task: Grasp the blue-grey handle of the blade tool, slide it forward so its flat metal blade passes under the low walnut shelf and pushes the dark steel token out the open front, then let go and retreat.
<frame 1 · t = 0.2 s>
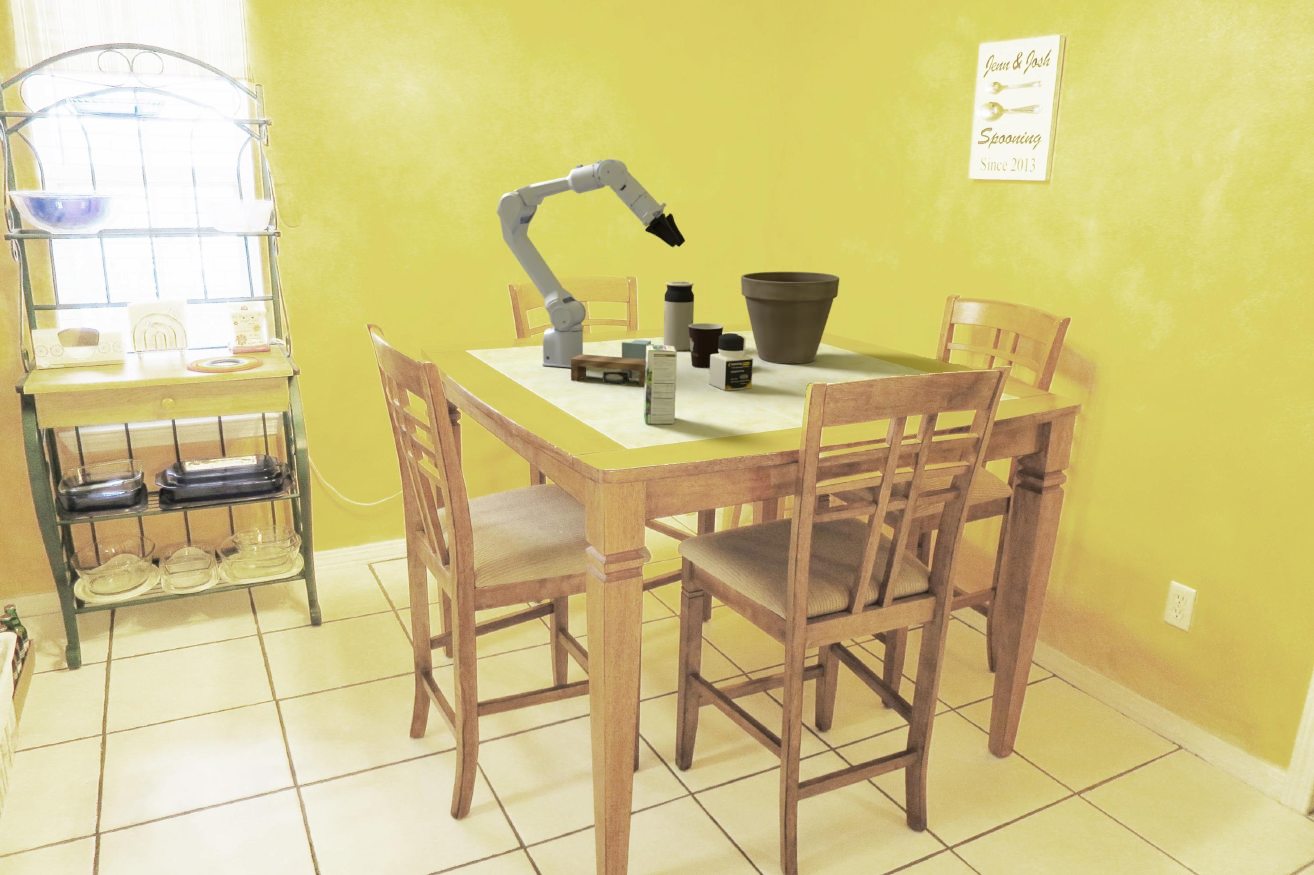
hand: (679, 244, 212), 31 cm above the table, fingers open, 7 cm apart
syrup box: (659, 421, 178), on the table
travel mug: (677, 349, 251), on the table
token: (616, 382, 211), on the table
plant pot: (785, 359, 240), on the table
coffee mug: (705, 365, 231), on the table
riser shelf: (612, 380, 211), on the table
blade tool: (640, 365, 228), on the table
medicine bottle: (730, 387, 208), on the table
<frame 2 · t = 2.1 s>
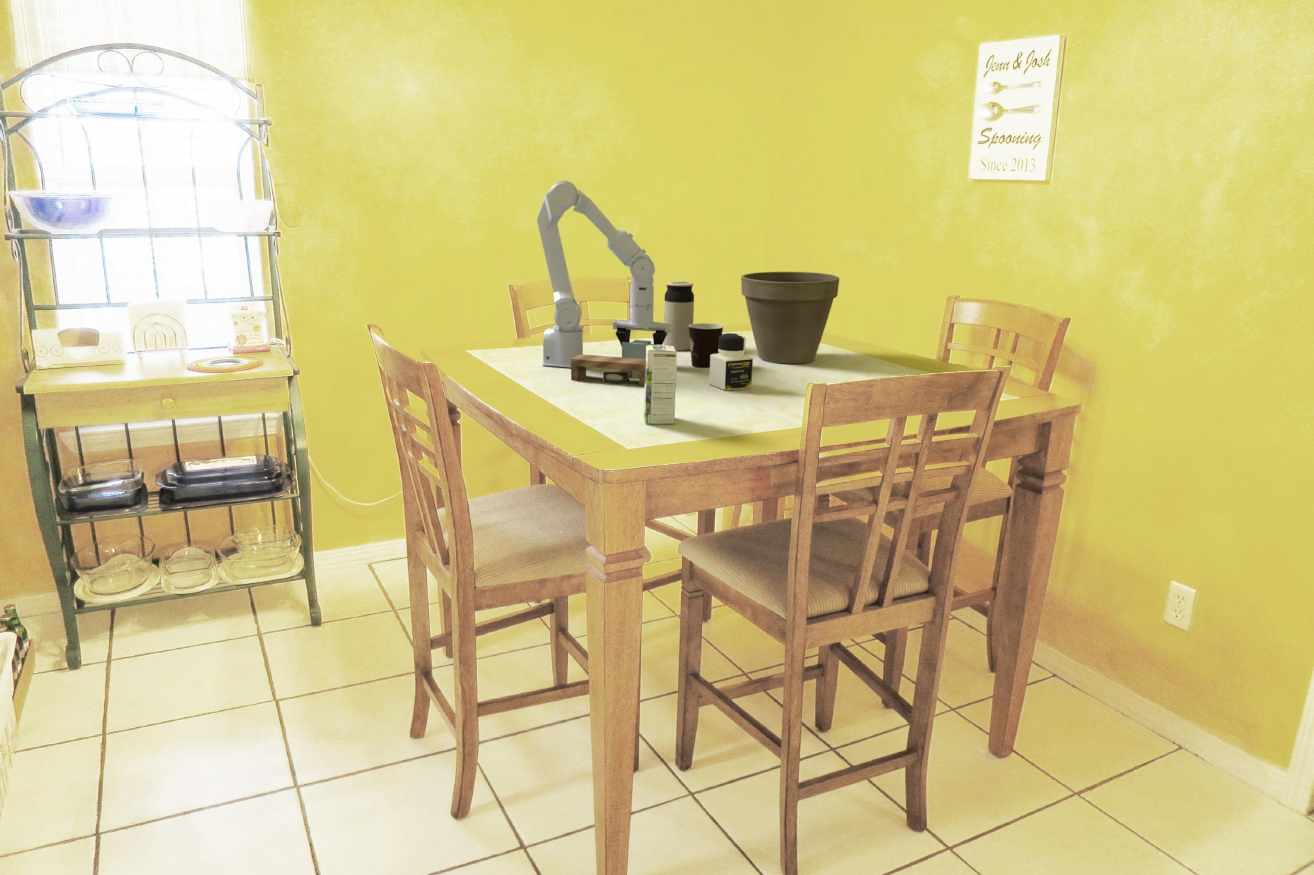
hand: (641, 359, 228), 2 cm above the table
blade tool: (640, 365, 228), on the table, touching gripper
everything else where it was.
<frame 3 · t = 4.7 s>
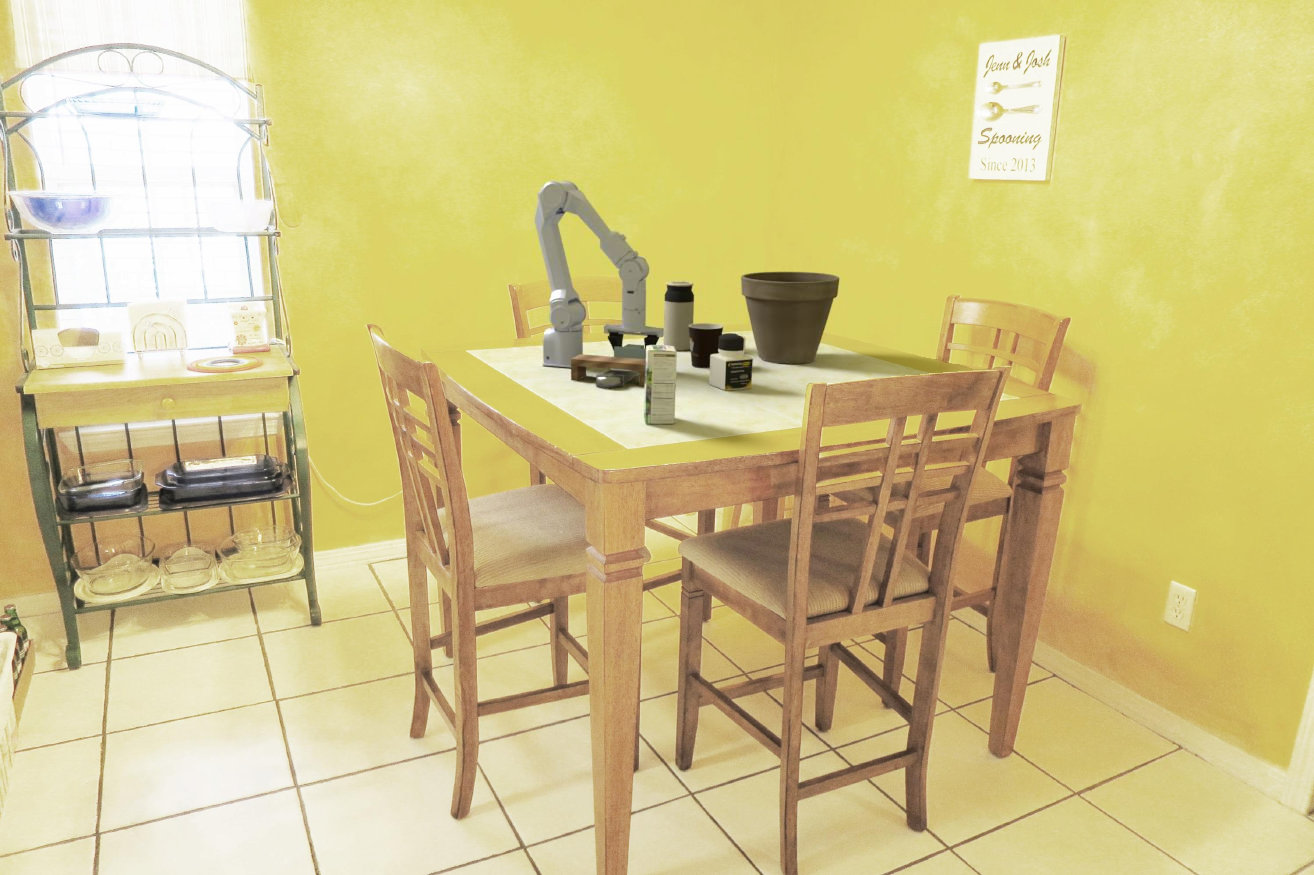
hand: (633, 364, 222), 1 cm above the table, fingers closed on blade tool, 7 cm apart
token: (609, 386, 206), on the table
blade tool: (633, 370, 223), on the table, touching gripper
everything else where it was.
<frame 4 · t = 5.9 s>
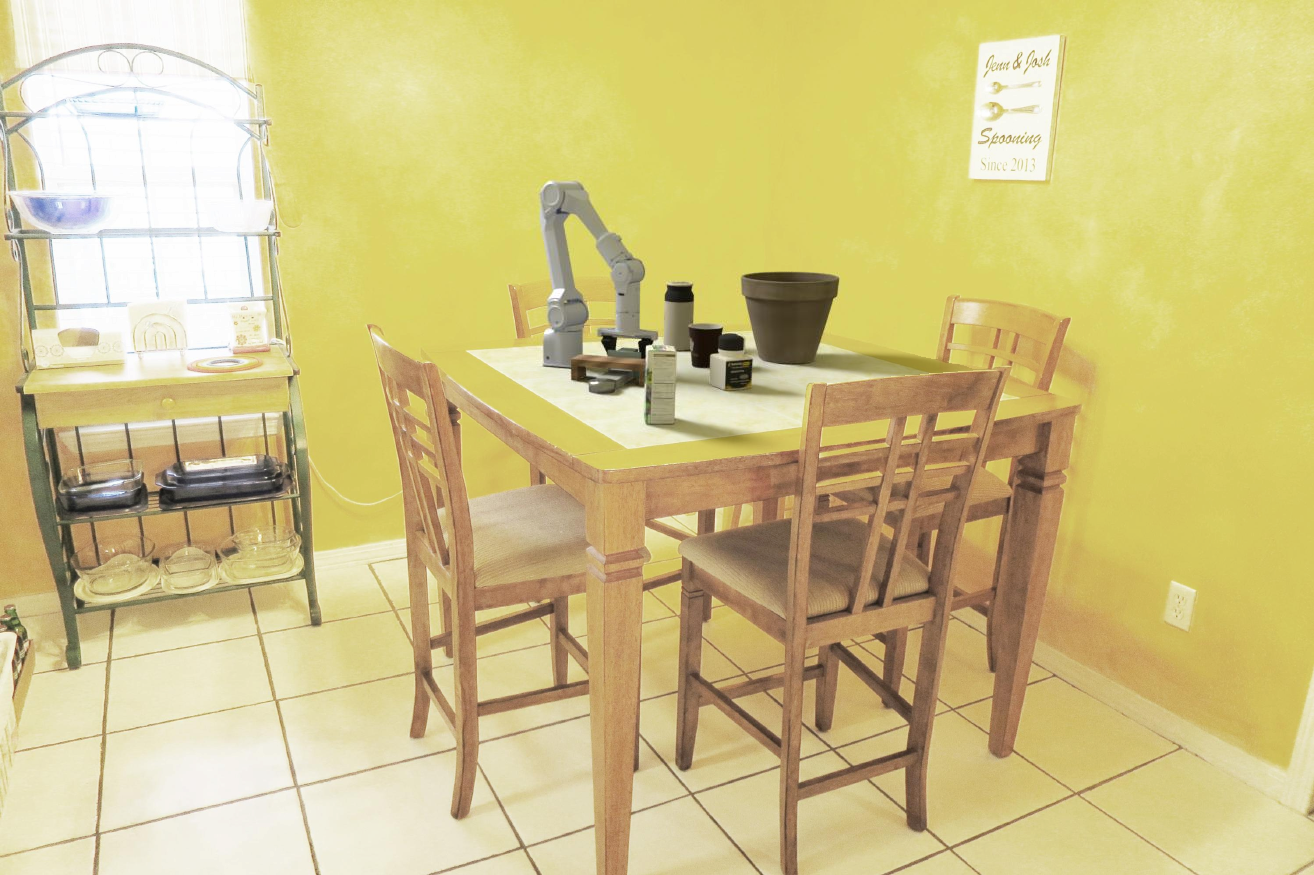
hand: (627, 368, 218), 1 cm above the table, fingers closed on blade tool, 7 cm apart
token: (602, 391, 202), on the table, touching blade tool
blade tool: (627, 374, 218), on the table, touching gripper, token
everything else where it was.
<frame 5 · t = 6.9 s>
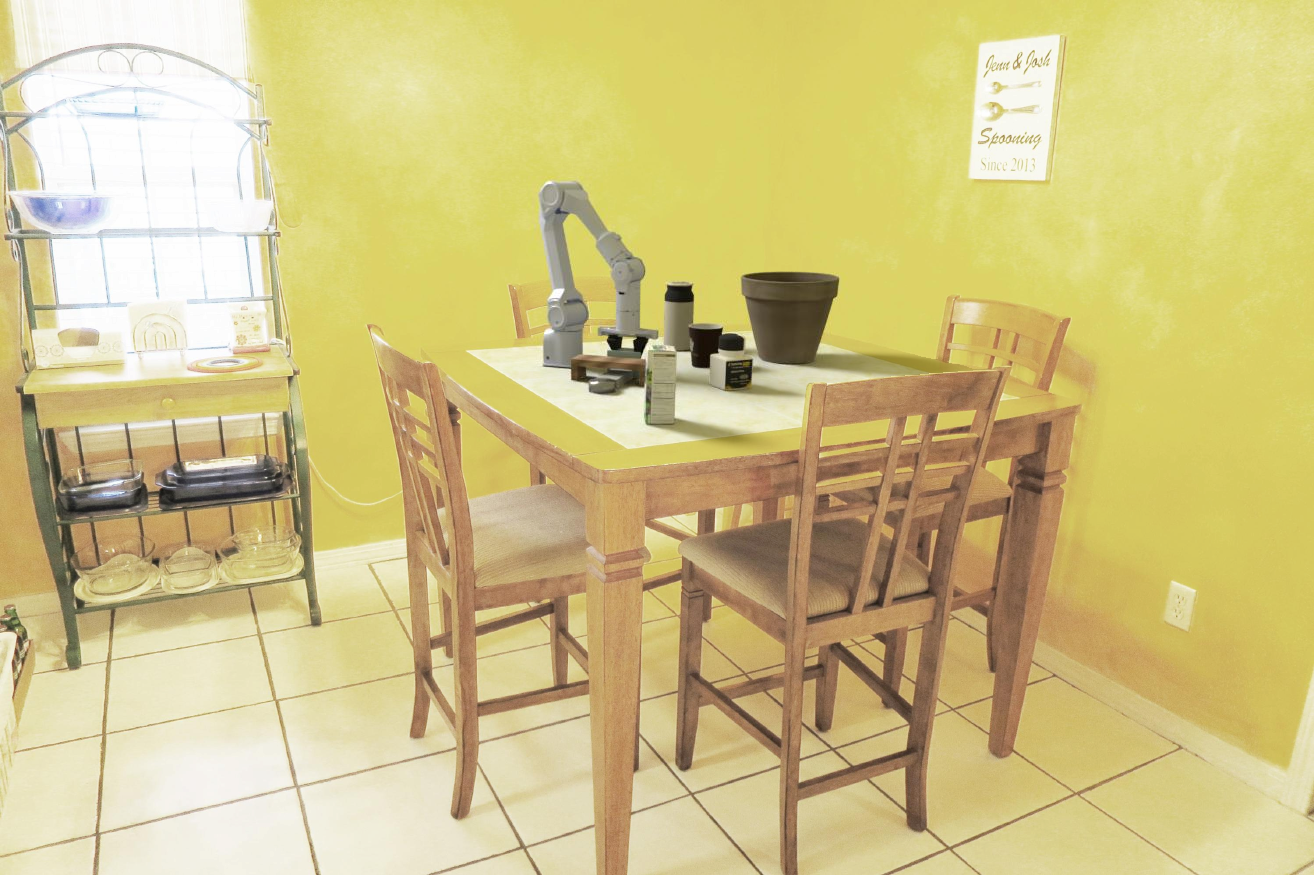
hand: (627, 367, 218), 2 cm above the table, fingers closed on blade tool, 4 cm apart
token: (602, 391, 201), on the table
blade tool: (627, 374, 218), on the table, touching gripper
everything else where it was.
when the fingers open (2 cm above the table, at t = 6.9 s): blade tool stays where it is, on the table.
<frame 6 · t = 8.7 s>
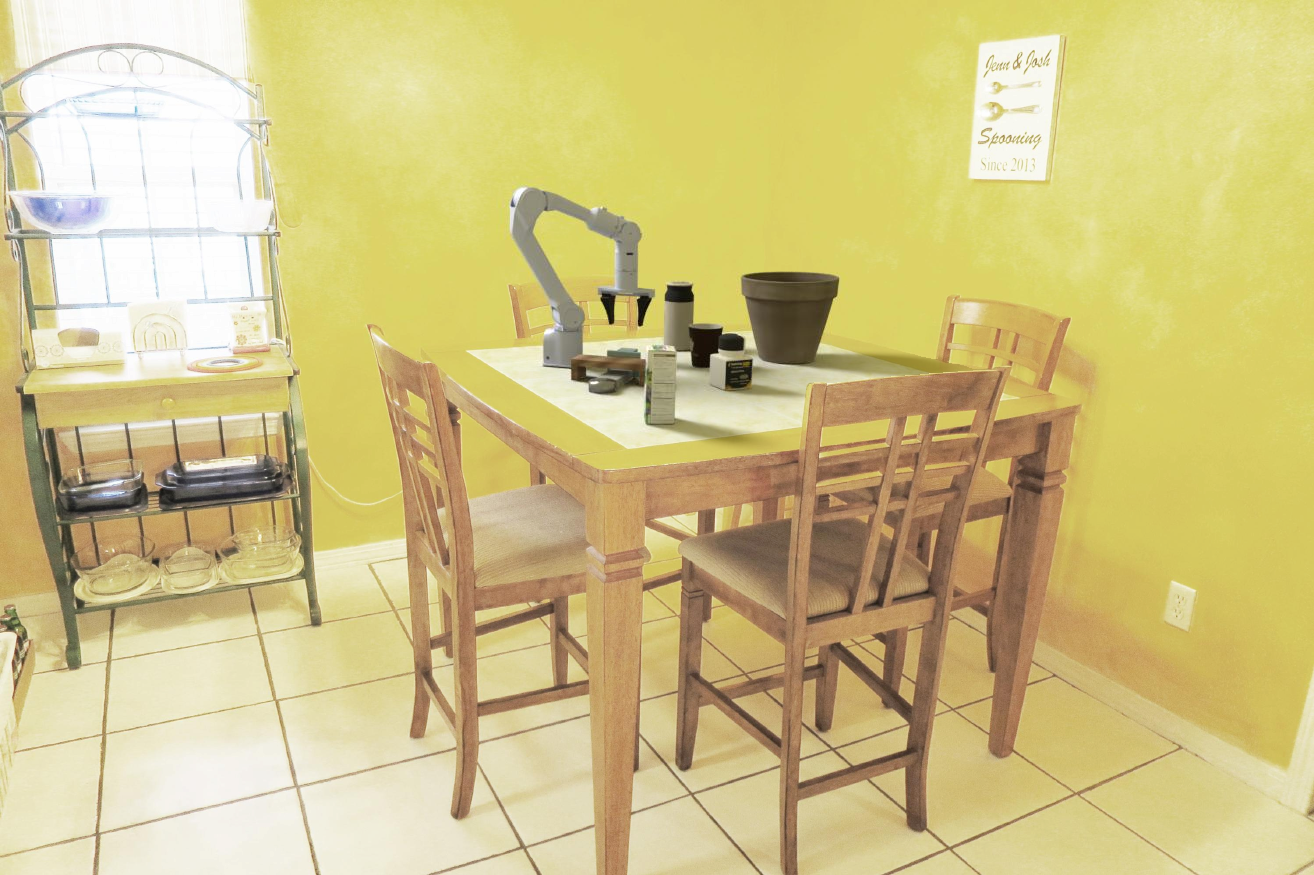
hand: (625, 325, 230), 9 cm above the table, fingers open, 7 cm apart
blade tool: (626, 374, 218), on the table
everything else where it was.
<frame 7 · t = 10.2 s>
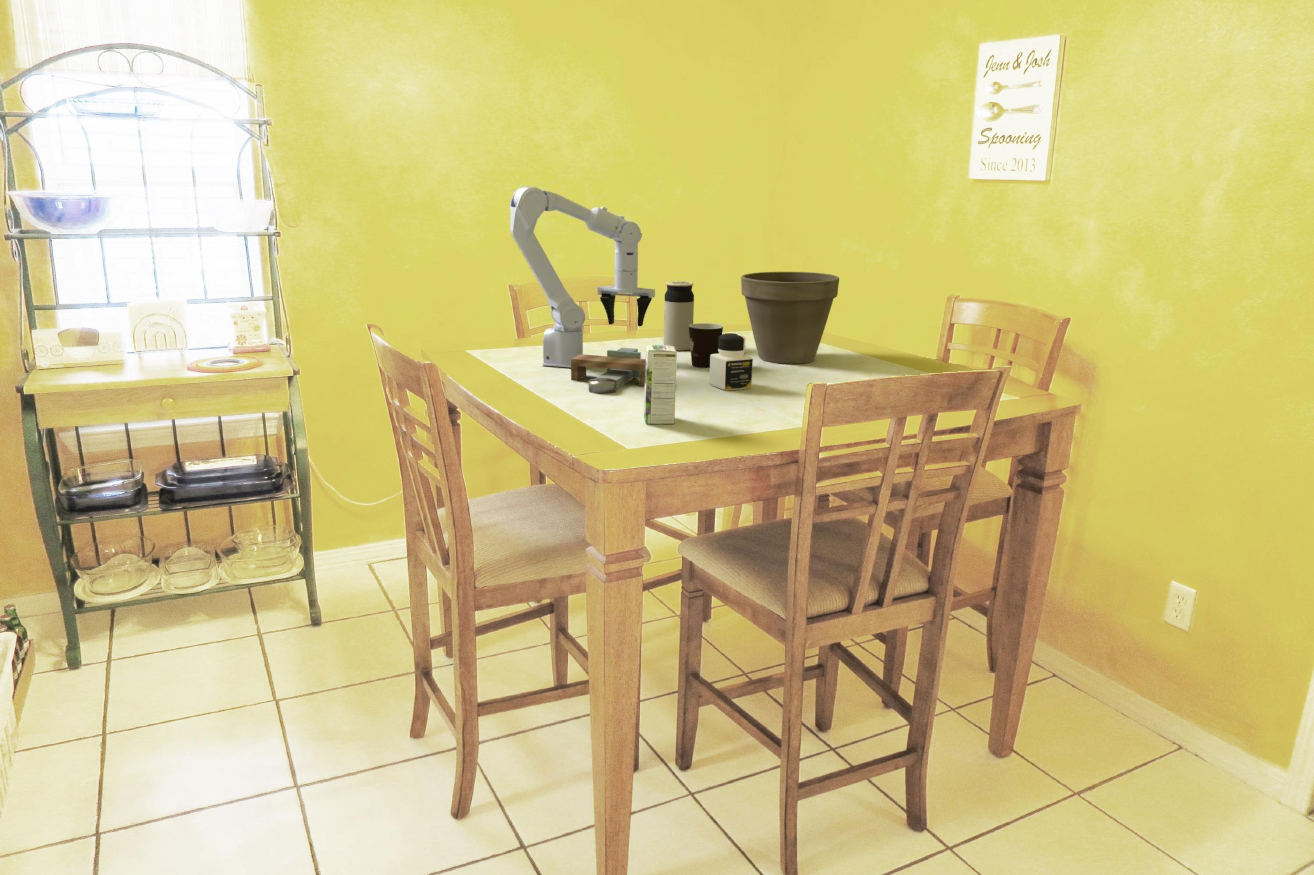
hand: (625, 324, 230), 9 cm above the table, fingers open, 7 cm apart
nothing on the table moved.
at the end: token inside the target area (5.8 cm from its centre), on the table; token touching table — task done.
